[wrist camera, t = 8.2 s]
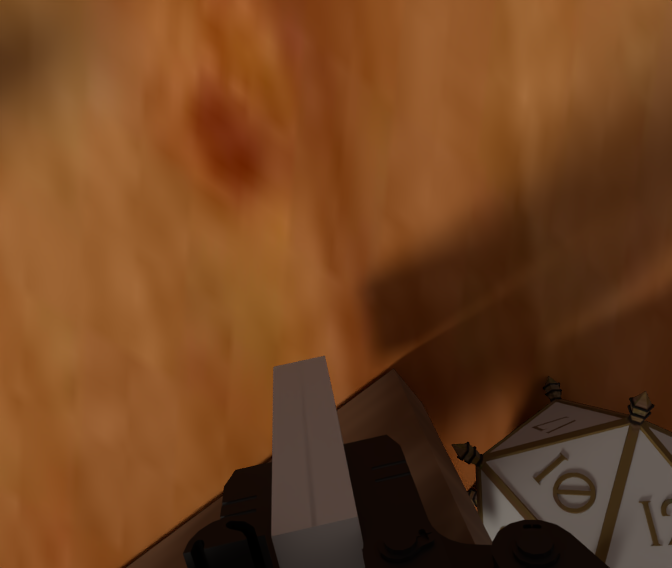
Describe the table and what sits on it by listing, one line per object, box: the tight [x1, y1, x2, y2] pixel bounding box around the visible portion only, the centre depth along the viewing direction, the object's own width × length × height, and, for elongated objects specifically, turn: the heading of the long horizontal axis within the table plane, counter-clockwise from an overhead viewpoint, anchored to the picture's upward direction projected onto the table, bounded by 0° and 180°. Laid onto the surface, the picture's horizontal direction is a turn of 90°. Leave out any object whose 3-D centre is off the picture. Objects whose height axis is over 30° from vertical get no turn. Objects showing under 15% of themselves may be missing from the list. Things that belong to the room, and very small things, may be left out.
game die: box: [452, 376, 672, 568], centre depth 17 cm, size 9×8×10 cm
